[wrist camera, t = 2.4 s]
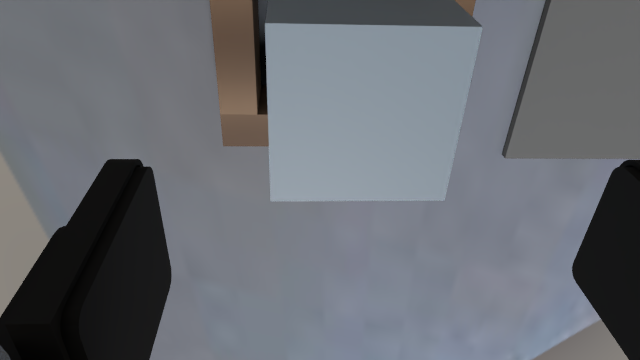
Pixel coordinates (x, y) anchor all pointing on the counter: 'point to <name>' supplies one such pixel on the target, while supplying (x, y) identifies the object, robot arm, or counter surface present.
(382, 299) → the counter surface
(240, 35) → the pocket holder
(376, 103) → the block
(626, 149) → the mat
